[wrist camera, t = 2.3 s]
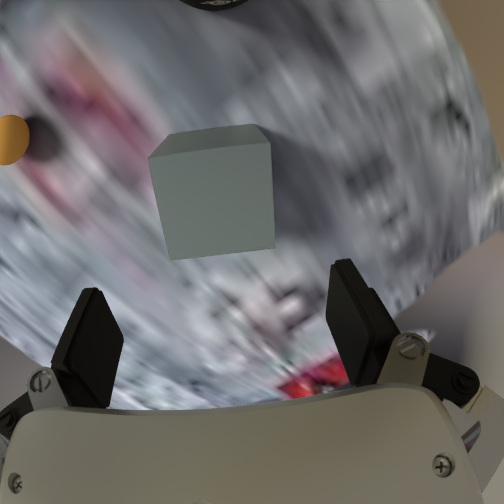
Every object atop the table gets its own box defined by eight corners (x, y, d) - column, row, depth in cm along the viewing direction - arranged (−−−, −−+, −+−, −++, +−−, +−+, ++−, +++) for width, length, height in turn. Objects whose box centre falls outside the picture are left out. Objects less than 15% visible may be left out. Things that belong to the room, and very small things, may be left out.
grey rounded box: (169, 134, 25) (147, 158, 17) (254, 123, 25) (270, 142, 18) (182, 210, 29) (170, 260, 21) (259, 201, 29) (275, 248, 22)
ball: (1, 120, 20) (-27, 130, 16) (33, 104, 20) (5, 112, 16) (10, 161, 23) (-16, 178, 19) (42, 149, 23) (16, 164, 19)
